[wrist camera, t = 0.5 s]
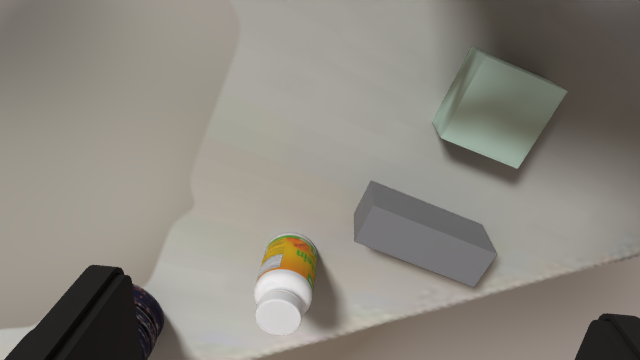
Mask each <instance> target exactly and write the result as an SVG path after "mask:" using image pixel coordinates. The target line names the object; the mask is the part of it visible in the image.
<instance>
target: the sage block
mask: <svg viewBox="0 0 640 360" xmlns="http://www.w3.org/2000/svg"><path fill="white" fill-rule="evenodd" d="M567 92H568V91H567V90H565V89H563V88H561V87H560V86H558V85H556V84H555V83H553V82H551V81H549V80H548V79H546V78H544V77H541V76H539V75H537V74H534V73H532V72H530V71H527V70H525V69H523V68H520V67H518V66H516V65H513V64H511V63H509V62H506V61H504V60H502V59H499V58H497V57H495V56H492V55H490V54H488V53H485V52H483V51H481V50H478V49H476V48H474V47H471V49H470V51H469V53H468V55H467V56H466V58H465V60H464V62H463V64H462V66H461V68H460V70H459V72H458V74H457V76H456V77H455V79H454V81H453V83H452V85H451V87H450V89H449V91H448V93H447V95H446V96H445V98H444V100H443V102H442V104H441V106H440V108H439V110H438V112H437V114H436V115H435V117H434V119H433V121H432V122H433V124H434V126H435V128H436V130H437V132H438V134H439V135H440V137H441V138H442V139H444V140H447V141H449V142H452V143H454V144H457V145H459V146H462V147H464V148H467V149H469V150H472V151H474V152H477V153H479V154H482V155H484V156H487V157H489V158H492V159H494V160H497V161H499V162H501V163H504V164H506V165H509V166H511V167H514V168H516V169H518V167H519V166H520V164H521V163H522V161H523V160H524V158H525V157H526V155H527V154H528V152H529V150H530V149H531V147H532V146H533V144H534V143H535V141H536V140H537V138H538V137H539V135H540V133H541V132H542V130H543V129H544V127H545V126H546V124H547V123H548V121H549V120H550V118H551V116H552V115H553V113H554V112H555V110H556V109H557V107H558V106H559V104H560V103H561V101H562V99H563V98H564V96H565V95H566V93H567Z"/></svg>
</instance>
